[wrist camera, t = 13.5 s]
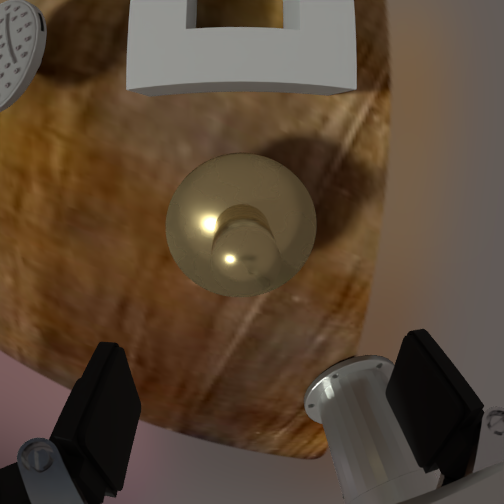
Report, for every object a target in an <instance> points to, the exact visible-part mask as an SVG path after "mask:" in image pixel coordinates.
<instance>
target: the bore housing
mask: <svg viewBox="0 0 504 504" xmlns="http://www.w3.org/2000/svg"><path fill="white" fill-rule="evenodd" d="M196 14H197V0H131V1H130V12H129V25H128V43H127V75H126V90H129V91H133V92H136V93H140V94H143V95H146V96H160V95H171V94H184V93H201V92H236V91H250V92H286V93H303V94H316V95H327V96H328V95H333V94H337V93H342V92H347V91H352V90H357V63H356V29H355V11H354V0H283V29H280V28H261V27H214V28H196Z"/></svg>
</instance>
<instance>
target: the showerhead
mask: <svg viewBox="0 0 504 504" xmlns="http://www.w3.org/2000/svg"><path fill="white" fill-rule="evenodd" d="M46 35H47V30H46V22H45V19H44V16H43V14H42V12H41V11H40V10H39V9H38V8H37V7H36V6H34V5H32V4H31V3H29V2H27V1H24V0H9V1H6V2H3V3H1V4H0V112H1V111H3V110H5V109H7V108H8V107H10V106H11V105H12V104H13V103H14V102H16V101H17V100H18V99H19V97H20V96H21V95H22V94H23V93H24V92H25V90H26V89H27V87H28V86H29V84H30V83H31V81H32V80H33V78H34V76H35V74H36V72H37V70H38V68H39V67H40V65H41V62H42V57H43V53H44V50H45V44H46Z"/></svg>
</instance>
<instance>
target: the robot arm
mask: <svg viewBox="0 0 504 504" xmlns="http://www.w3.org/2000/svg"><path fill="white" fill-rule="evenodd" d="M304 407H305V410H306V413H307V415H308V416H309V417H310V418H311V419H312V420H314V421H316V422H318V423H321V424H323V427H324V431H325V434H326V438H327V441H328V445H329V448H330V452H331V455H332V459H333V462H334V466H335V470H336V473H337V477H338V480H339V484H340V487H341V491H342V495H343V499H344V502H345V504H504V408H502V407H491V408H489V409H487V410H486V411H485V413H484V411H483V410H482V409H483V407H484V405H483V403H482V402H481V401H480V399H479V398H478V396H477V395H476V394H475V392H474V391H473V389H472V388H471V387H470V386H469V384H468V383H467V381H466V380H465V379H464V377H463V376H462V375H461V373H460V372H459V371H458V369H457V368H456V367H455V366H454V364H453V363H452V362H451V360H450V359H449V358H448V357H447V355H446V354H445V353H444V351H443V350H442V349H441V348H440V346H439V345H438V344H437V343H436V342H435V340H434V339H433V338H432V337H431V335H430V334H429V333H428V332H427V331H426V330H425V329H420V330H413V331H410V332H409V333H408V334H407V336H405V337H404V339H403V342H402V344H401V348H400V351H399V354H398V357H397V360H396V363H395V365H394V364H393V362H391V361H390V360H389V359H387V358H385V357H382V356H377V355H365V356H359V357H354V358H351V359H347V360H345V361H343V362H340V363H338V364H336V365H334V366H332V367H331V368H329V369H327V370H326V371H325V372H323V373H322V374H320V375H319V376H318V377H317V378H316V379H315V380H314V381H313V382H312V384H311V385H310V386H309V387H308V389H307V391H306V393H305V397H304ZM140 413H141V402H140V399H139V396H138V393H137V390H136V387H135V384H134V381H133V378H132V375H131V371H130V368H129V365H128V362H127V358H126V355H125V351H124V349H123V348H122V347H119V345H118V344H117V343H112V342H100V343H99V344H98V346H97V348H96V350H95V351H94V353H93V355H92V357H91V359H90V361H89V363H88V365H87V367H86V369H85V371H84V373H83V375H82V377H81V378H80V379H78V380H77V381H76V383H75V385H74V387H73V389H72V391H71V393H70V396H69V397H68V399H67V401H66V403H65V406H64V408H63V410H62V412H61V415H60V416H59V418H58V421H57V423H56V425H55V427H54V430H53V432H52V434H51V436H50V439H49V440H48V439H45V438H34V439H30V440H28V441H27V442H25V443H24V444H23V445H22V446H21V447H20V449H19V451H18V455H17V462H16V463H14V464H11V465H9V466H6V467H4V468H1V469H0V504H102V503H103V500H104V496H110V497H116V495H117V491H121V490H122V488H123V485H124V480H125V475H126V471H127V466H128V462H129V458H130V453H131V449H132V445H133V441H134V436H135V433H136V429H137V424H138V421H139V417H140ZM438 468H439V469H440V471H441V475H440V478H439V479H438V477H437V475H436V473H435V471H434V470H437V469H438Z"/></svg>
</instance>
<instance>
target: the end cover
mask: <svg viewBox="0 0 504 504" xmlns="http://www.w3.org/2000/svg"><path fill="white" fill-rule="evenodd" d="M316 229H317V220H316V212H315V208H314V204H313V201H312V199H311V197H310V194H309V192H308V191H307V189H306V188H305V186H304V184H303V183H302V182H301V181H300V180H299V178H298V177H297V176H296V175H295V174H293V173H292V172H291V171H290V170H289V169H288V168H286V167H285V166H283V165H282V164H280V163H279V162H277V161H275V160H273V159H271V158H268V157H265V156H262V155H258V154H253V153H230V154H225V155H221V156H218V157H215V158H212V159H210V160H208V161H206V162H204V163H202V164H201V165H200V166H198V167H197V168H195V169H194V170H193V171H192V172H191V173H190V174H189V175H188V176H187V177H186V178H185V179H184V180H183V181H182V183H181V184H180V185H179V187H178V188H177V190H176V192H175V193H174V195H173V197H172V199H171V202H170V204H169V208H168V212H167V217H166V237H167V243H168V246H169V249H170V252H171V254H172V256H173V258H174V260H175V262H176V263H177V265H178V266H179V268H180V269H181V270H182V271H183V272H184V274H185V275H186V276H187V277H189V278H190V279H191V280H192V281H193V282H195V283H196V284H198V285H199V286H201V287H203V288H204V289H206V290H209V291H211V292H214V293H216V294H220V295H224V296H231V297H249V296H255V295H260V294H263V293H266V292H269V291H272V290H274V289H276V288H278V287H280V286H281V285H283V284H284V283H286V282H287V281H288V280H290V279H291V278H292V277H293V276H294V275H295V274H296V273H297V272H298V271H299V270H300V269H301V268H302V266H303V265H304V264H305V262H306V260H307V259H308V257H309V255H310V253H311V250H312V248H313V245H314V241H315V237H316Z"/></svg>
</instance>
